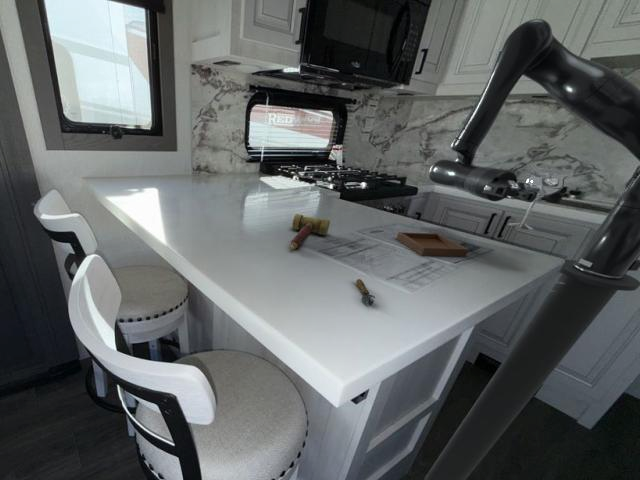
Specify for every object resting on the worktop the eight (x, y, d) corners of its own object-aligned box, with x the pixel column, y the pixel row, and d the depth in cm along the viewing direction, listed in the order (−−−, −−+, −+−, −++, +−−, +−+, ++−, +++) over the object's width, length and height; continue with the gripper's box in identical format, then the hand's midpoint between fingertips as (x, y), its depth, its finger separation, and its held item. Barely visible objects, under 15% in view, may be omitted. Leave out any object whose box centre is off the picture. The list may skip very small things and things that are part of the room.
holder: (435, 240, 92) (438, 233, 91) (465, 256, 81) (468, 249, 80) (396, 238, 91) (398, 232, 90) (421, 255, 80) (424, 248, 79)
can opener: (355, 283, 63) (356, 278, 63) (366, 284, 63) (368, 279, 62) (363, 305, 56) (365, 300, 55) (376, 307, 55) (378, 302, 55)
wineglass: (502, 225, 73) (529, 172, 67) (504, 220, 78) (530, 169, 72) (538, 232, 70) (570, 177, 64) (538, 226, 74) (568, 174, 68)
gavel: (313, 243, 73) (274, 235, 76) (310, 260, 75) (272, 252, 79) (330, 217, 89) (297, 211, 92) (327, 232, 91) (295, 226, 95)
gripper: (470, 167, 80) (527, 179, 65) (519, 169, 81) (586, 181, 67) (458, 196, 83) (509, 214, 69) (505, 198, 85) (565, 216, 71)
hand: (547, 198), depth 68 cm, fingers closed on wineglass, 6 cm apart
